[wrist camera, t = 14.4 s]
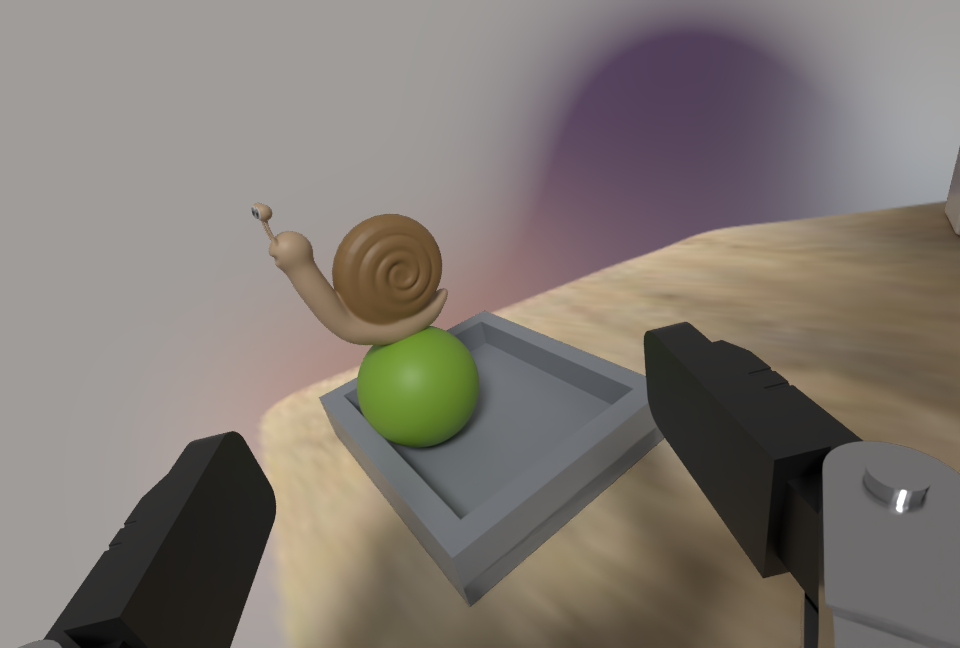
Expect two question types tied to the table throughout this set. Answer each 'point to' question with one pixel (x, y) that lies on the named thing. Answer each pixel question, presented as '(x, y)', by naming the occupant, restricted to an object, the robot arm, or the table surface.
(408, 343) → the snail figurine
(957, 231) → the jar
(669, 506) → the table surface
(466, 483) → the tray
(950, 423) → the table surface
